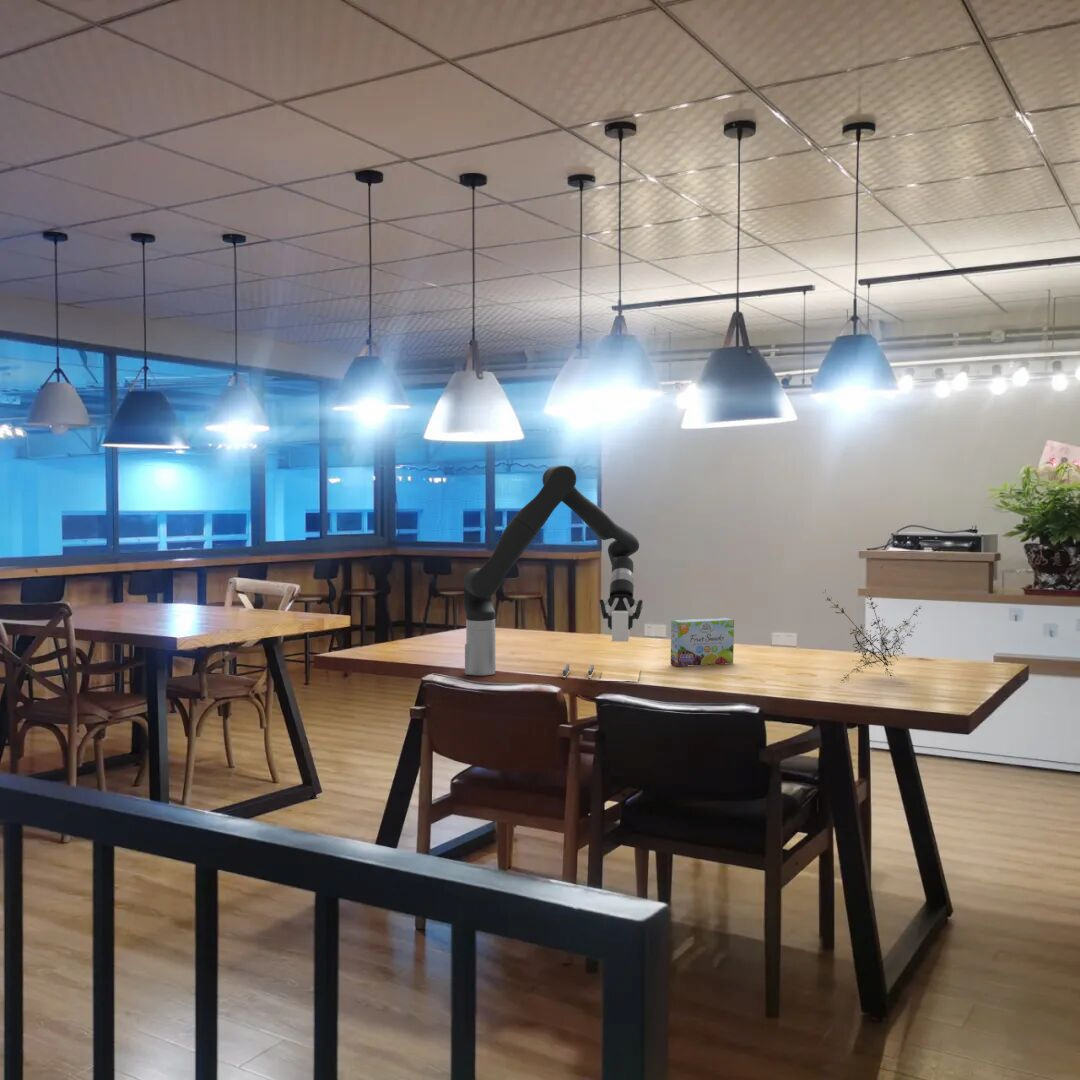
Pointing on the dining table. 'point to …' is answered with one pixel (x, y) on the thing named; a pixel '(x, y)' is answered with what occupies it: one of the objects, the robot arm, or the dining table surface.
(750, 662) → the dining table surface
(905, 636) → the dried plant
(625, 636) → the block
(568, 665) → the brackets
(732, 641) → the snack box
